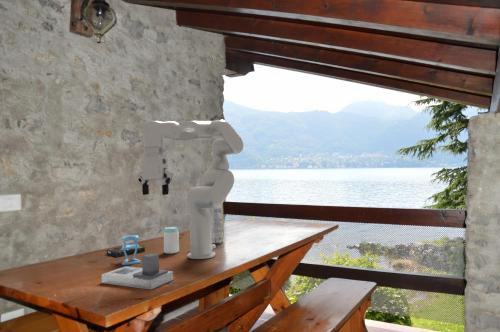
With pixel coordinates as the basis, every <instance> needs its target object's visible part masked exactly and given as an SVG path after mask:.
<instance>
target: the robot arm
mask: <svg viewBox="0 0 500 332" xmlns="http://www.w3.org/2000/svg"><path fill="white" fill-rule="evenodd" d="M142 131H143V133H142V134H143V153H144V154H143V156H142V162H141V163H142V164H141V171H139V172H138V173H137V174H136V177H137V179H138V182H139V183H140V185H141V190H142V195H143V196H145V195H149V194H150V187H149V185H150V184H148V183H149V182H150V181H160V182H161V183H162V184H161V194H162V196H166V195H169V192H170V190H169V188H170V187H169V185H170V183H171V182H172V180H173V177H174V172H172V171H170V170H169V166H168V161H167V157H166V154H165V152H166V148H164V141H197V140H198V141H199V140H201V141H202V140H205V141H206V140H213V142H212V143H211V150H212V156H213V159H212V162H211V164H210V166H208V168H207V170H206V171H205V172H204V174H203V176H202V178H201V181H200V182H201V186H193V187H191V188H190V189H189V190H188V192H187V195H186V200H187V204H188V209H189V236H190V237H189V238H190V252H189V253H187V255H186V256H187V258H188V259H192V260H206V259H211V258H215V256H216V252H214V251H213V249H216V247H217V246H216V243H212V236H211V214H210V211H209V209H208V208H218V207H219V206H221V205H222V203H224V202H225V200H226V199H227V197H228V196H229V193H230V192H231V190H232V188H233V187H234V182H235V177H234V173H233V172H232V171H231V170H229V169H230V163H229V160H228V157H227V155H238V154H240V153H242V151H243V149H244V142H243V140H242V138H241V136H240V135H239V134H238V133H237V131H236V130H235V129H234V127H233V126H232V124H230V123H229V122H228V121H227V120H224V119H217V120H188V121H187V120H186V121H181V122H176V121H172V120H170V121H159V120H147V121H144V122H143V125H142Z"/></svg>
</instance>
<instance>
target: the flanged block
mask: <svg viewBox="0 0 500 332" xmlns="http://www.w3.org/2000/svg"><path fill="white" fill-rule="evenodd" d="M159 261H160V257H159V254H158V253H146V254H145V255H142V256H141V264H142V265H141V266H142V267H141V268H142V271H140V272H138V273H135V274H133V277H141V278H149V279H154V278H156V277H159V276H161V275H163V274H166V273H168V271H169V270H168V269H160V263H159Z"/></svg>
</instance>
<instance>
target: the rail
mask: <svg viewBox="0 0 500 332" xmlns="http://www.w3.org/2000/svg"><path fill="white" fill-rule="evenodd" d="M140 271H142V267H136V266H135V267H134V266H129V265H124V266H123V267H119V268H117V269H114V270H110V271H107V272H105V273H102V274H101V283H102V284H106V285H114V286H115V285H116V286H120V287H129V288H136V289H137V288H138V289H142V290H143V289H144V290H151V291H152V290H154V289H156V288H158V287H161V286H163V285H165V284H167V283H169V282H171V281H173V280H174V271H172V270H168V273H166V274H163V275H161V276H159V277H156V278H154V279H149V278H141V277H133V274H135V273H138V272H140Z"/></svg>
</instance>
